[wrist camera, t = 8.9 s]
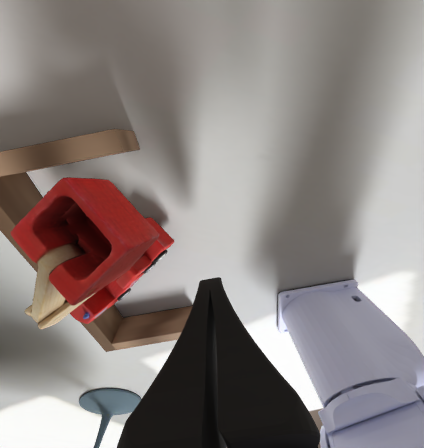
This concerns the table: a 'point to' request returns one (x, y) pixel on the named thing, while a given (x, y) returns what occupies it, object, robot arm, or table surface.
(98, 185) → the toy fire truck
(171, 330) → the garage bay
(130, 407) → the cocktail glass
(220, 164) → the table surface
